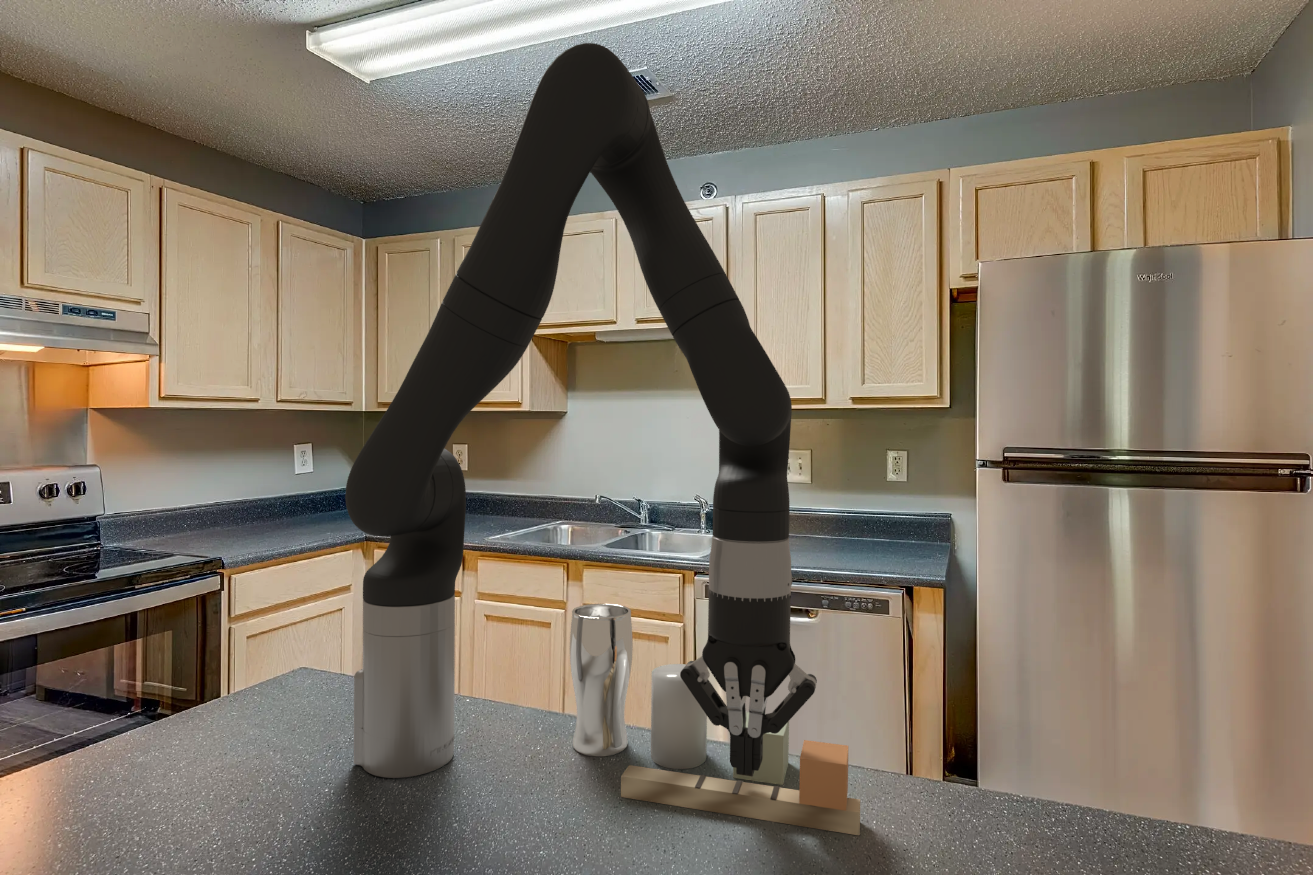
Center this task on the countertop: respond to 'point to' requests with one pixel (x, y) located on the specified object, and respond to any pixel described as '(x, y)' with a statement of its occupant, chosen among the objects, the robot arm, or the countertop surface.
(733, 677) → the robot arm
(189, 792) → the countertop surface
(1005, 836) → the countertop surface
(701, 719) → the grey rounded cylinder
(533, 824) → the countertop surface
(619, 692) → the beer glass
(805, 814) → the rail
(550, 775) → the countertop surface
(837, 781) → the block
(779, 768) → the sage block
